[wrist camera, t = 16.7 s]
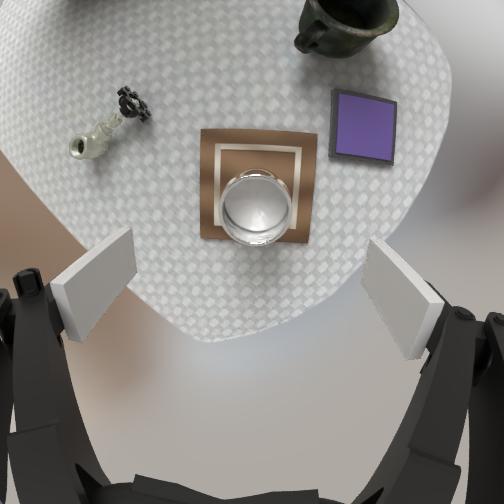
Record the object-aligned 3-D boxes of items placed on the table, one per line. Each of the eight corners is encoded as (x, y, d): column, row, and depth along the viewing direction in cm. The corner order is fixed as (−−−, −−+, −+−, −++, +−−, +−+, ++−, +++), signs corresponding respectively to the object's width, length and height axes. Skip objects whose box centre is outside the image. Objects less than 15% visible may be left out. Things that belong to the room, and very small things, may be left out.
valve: (102, 168, 39) (157, 119, 36) (79, 173, 32) (139, 116, 30) (83, 138, 37) (135, 88, 34) (59, 140, 30) (115, 81, 28)
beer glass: (268, 218, 40) (271, 260, 26) (224, 196, 39) (203, 228, 25) (291, 175, 38) (309, 195, 24) (246, 152, 37) (237, 158, 23)
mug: (379, 38, 29) (415, 12, 18) (319, 88, 34) (343, 68, 22) (328, -7, 27) (347, -45, 16) (263, 40, 31) (264, 4, 20)
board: (202, 129, 36) (200, 128, 35) (316, 134, 36) (317, 134, 35) (201, 235, 42) (200, 238, 41) (307, 240, 42) (308, 243, 41)
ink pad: (331, 90, 33) (334, 88, 32) (393, 102, 33) (398, 101, 32) (328, 156, 37) (330, 156, 36) (389, 164, 37) (394, 166, 36)
